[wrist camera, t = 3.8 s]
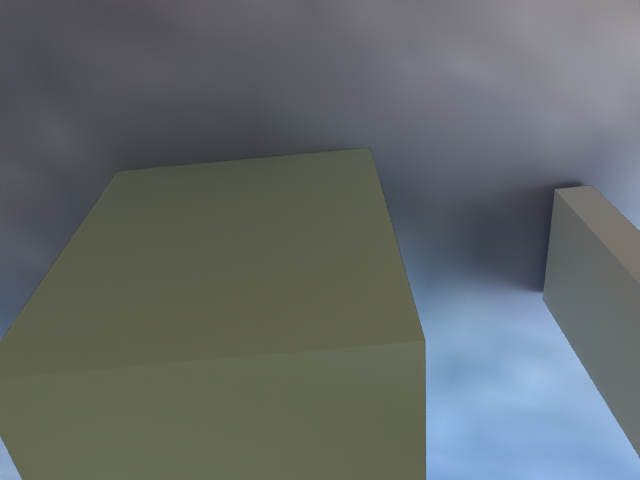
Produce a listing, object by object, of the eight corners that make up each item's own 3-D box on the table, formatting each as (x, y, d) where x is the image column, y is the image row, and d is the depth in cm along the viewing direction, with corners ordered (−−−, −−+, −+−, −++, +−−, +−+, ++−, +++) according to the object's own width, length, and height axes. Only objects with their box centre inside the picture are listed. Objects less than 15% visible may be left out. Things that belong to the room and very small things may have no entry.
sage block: (369, 146, 12) (425, 341, 7) (379, 345, 14) (426, 602, 9) (117, 170, 12) (-27, 381, 7) (170, 363, 14) (96, 629, 9)
